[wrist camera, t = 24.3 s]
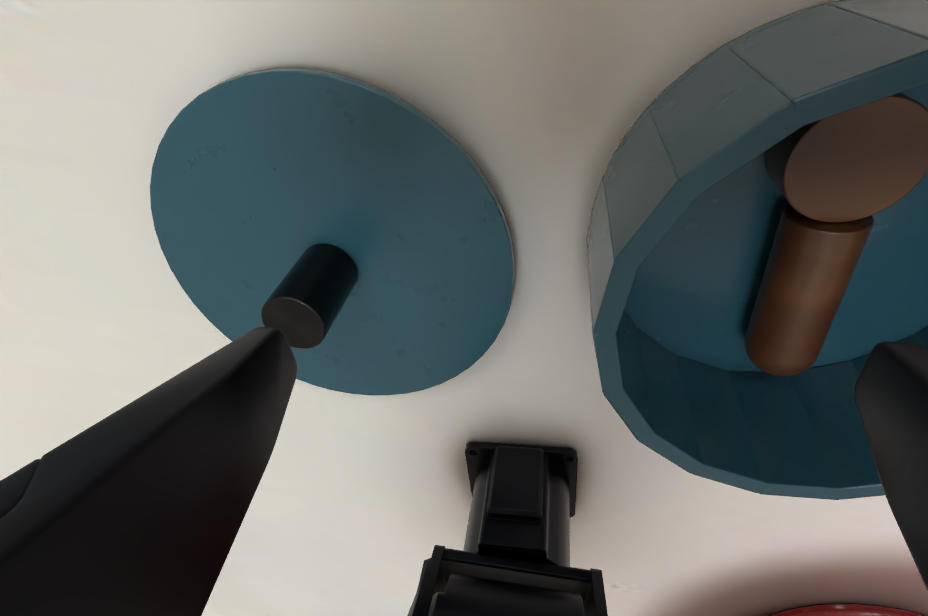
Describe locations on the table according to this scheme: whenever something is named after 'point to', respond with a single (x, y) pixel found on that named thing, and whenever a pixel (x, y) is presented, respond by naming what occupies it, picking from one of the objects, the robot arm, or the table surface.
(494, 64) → the table surface
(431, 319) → the pot lid
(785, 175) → the wooden spoon
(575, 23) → the table surface
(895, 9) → the pot
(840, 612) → the mixing bowl
